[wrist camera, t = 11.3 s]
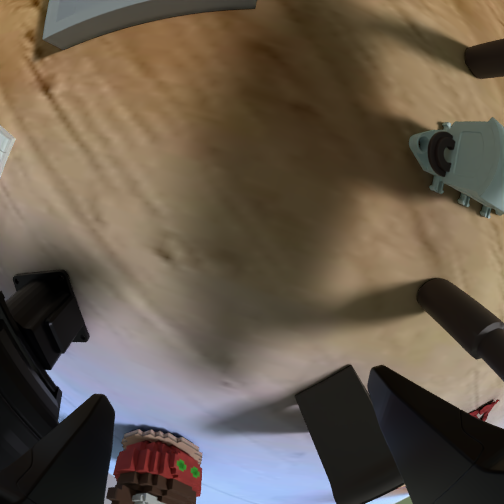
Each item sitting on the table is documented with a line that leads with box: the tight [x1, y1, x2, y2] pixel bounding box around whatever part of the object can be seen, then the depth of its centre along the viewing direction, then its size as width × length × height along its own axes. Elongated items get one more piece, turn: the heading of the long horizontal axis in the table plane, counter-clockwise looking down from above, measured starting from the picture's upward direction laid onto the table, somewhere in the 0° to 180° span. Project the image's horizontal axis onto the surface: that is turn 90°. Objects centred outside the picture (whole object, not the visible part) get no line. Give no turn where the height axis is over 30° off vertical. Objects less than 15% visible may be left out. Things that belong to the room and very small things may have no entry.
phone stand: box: [295, 365, 405, 504], centre depth 20 cm, size 9×6×12 cm, turn 32°
